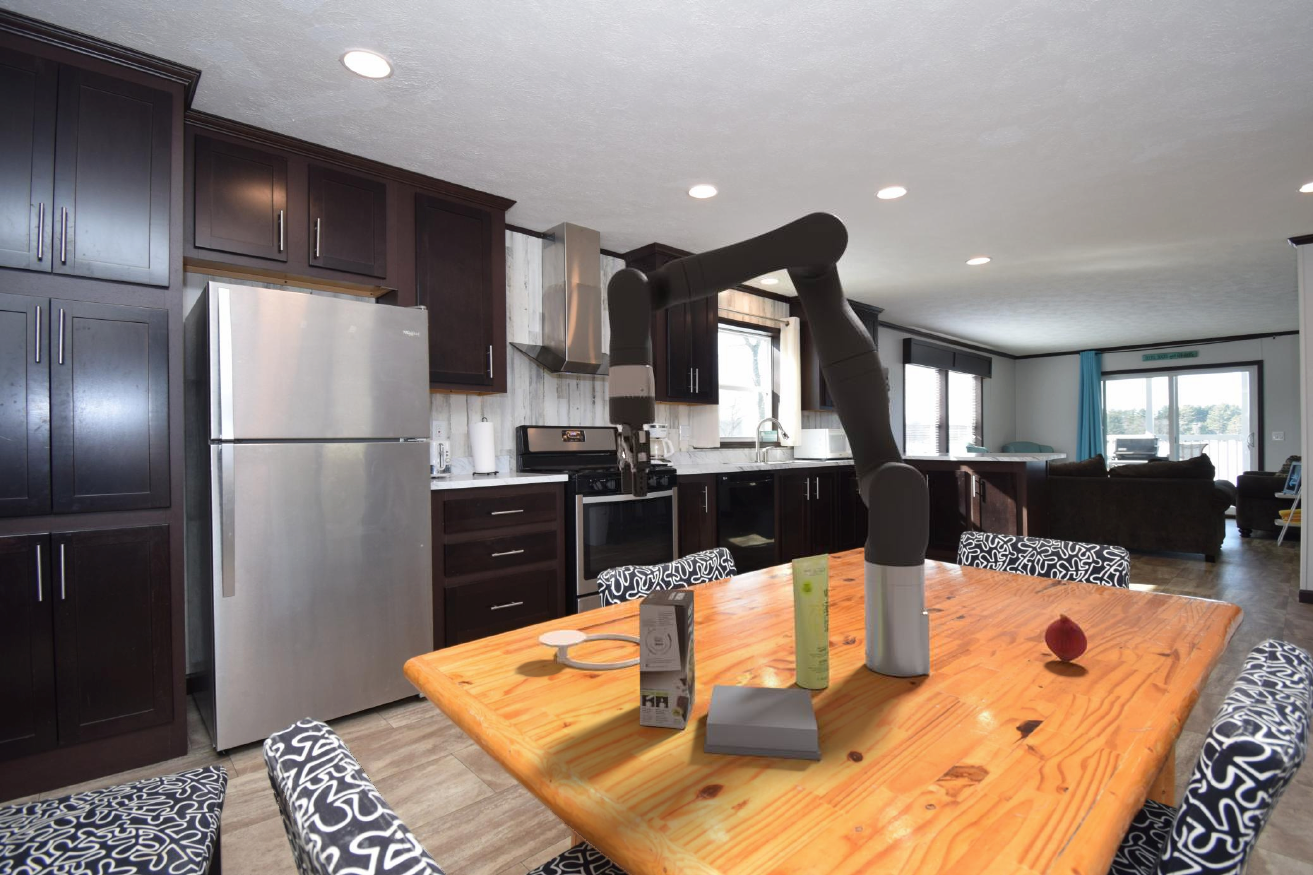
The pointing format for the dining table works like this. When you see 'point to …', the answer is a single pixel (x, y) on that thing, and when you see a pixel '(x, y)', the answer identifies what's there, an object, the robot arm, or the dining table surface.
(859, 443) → the robot arm
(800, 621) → the tube
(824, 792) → the dining table surface
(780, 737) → the plate
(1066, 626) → the onion
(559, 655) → the hand towel holder
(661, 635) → the coffee box
